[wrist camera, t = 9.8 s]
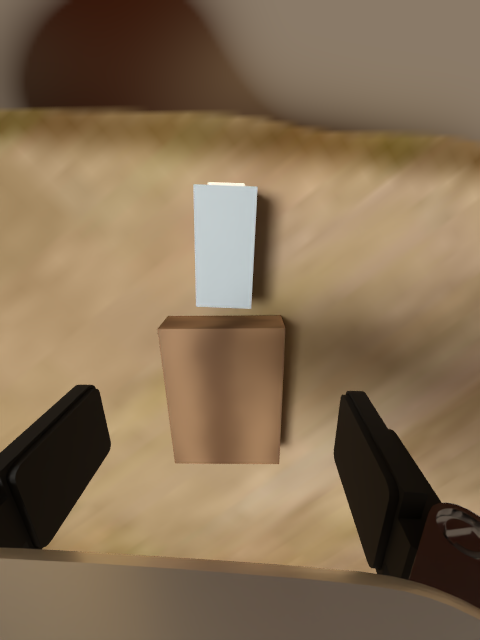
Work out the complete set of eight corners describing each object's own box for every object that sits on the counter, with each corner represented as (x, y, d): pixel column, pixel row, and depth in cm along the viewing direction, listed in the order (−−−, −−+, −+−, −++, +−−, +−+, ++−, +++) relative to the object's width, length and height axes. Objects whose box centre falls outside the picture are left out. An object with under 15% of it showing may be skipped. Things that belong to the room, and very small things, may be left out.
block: (250, 294, 23) (255, 189, 20) (251, 308, 20) (257, 182, 17) (204, 292, 23) (202, 187, 21) (196, 306, 20) (193, 179, 17)
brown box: (280, 315, 24) (285, 328, 21) (275, 440, 29) (279, 464, 26) (167, 316, 24) (157, 329, 21) (182, 439, 29) (175, 463, 26)
